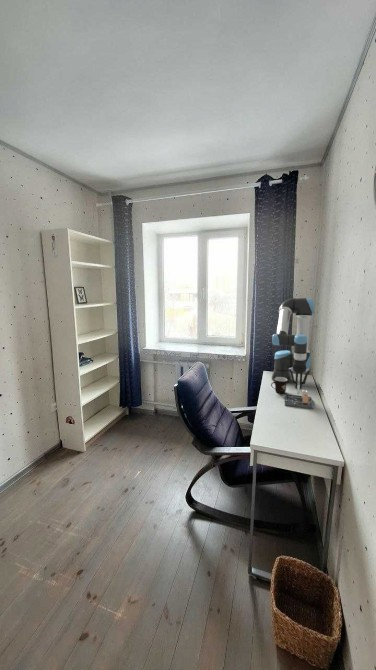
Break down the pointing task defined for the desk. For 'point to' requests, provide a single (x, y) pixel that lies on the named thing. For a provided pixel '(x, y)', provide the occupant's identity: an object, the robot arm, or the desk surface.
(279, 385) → the coffee mug
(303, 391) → the fader cream
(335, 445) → the desk surface
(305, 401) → the fader terracotta
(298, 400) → the console
